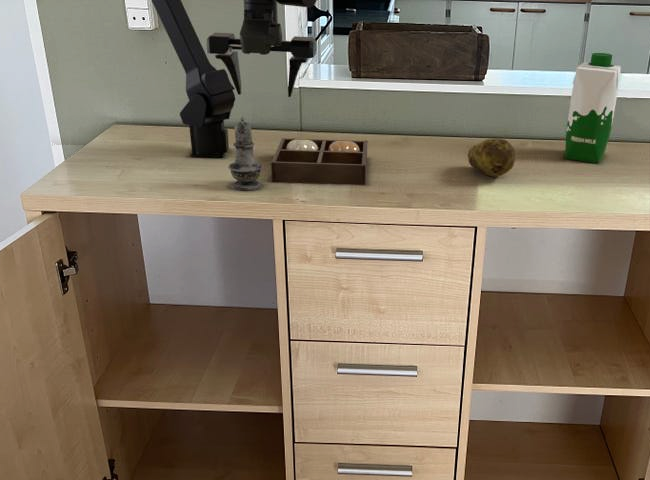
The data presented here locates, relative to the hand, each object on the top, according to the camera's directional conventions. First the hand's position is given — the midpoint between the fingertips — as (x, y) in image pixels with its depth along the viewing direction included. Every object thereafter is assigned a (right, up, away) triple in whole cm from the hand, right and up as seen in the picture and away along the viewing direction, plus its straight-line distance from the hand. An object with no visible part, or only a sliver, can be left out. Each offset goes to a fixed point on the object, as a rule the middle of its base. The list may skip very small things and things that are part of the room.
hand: (264, 95), depth 140 cm
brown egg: (+14, -10, +9) cm, 20 cm away
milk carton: (+64, -6, +20) cm, 67 cm away
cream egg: (+6, -10, +9) cm, 15 cm away
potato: (+42, -14, +5) cm, 45 cm away
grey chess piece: (-2, -18, -5) cm, 19 cm away
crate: (+10, -12, +5) cm, 17 cm away
